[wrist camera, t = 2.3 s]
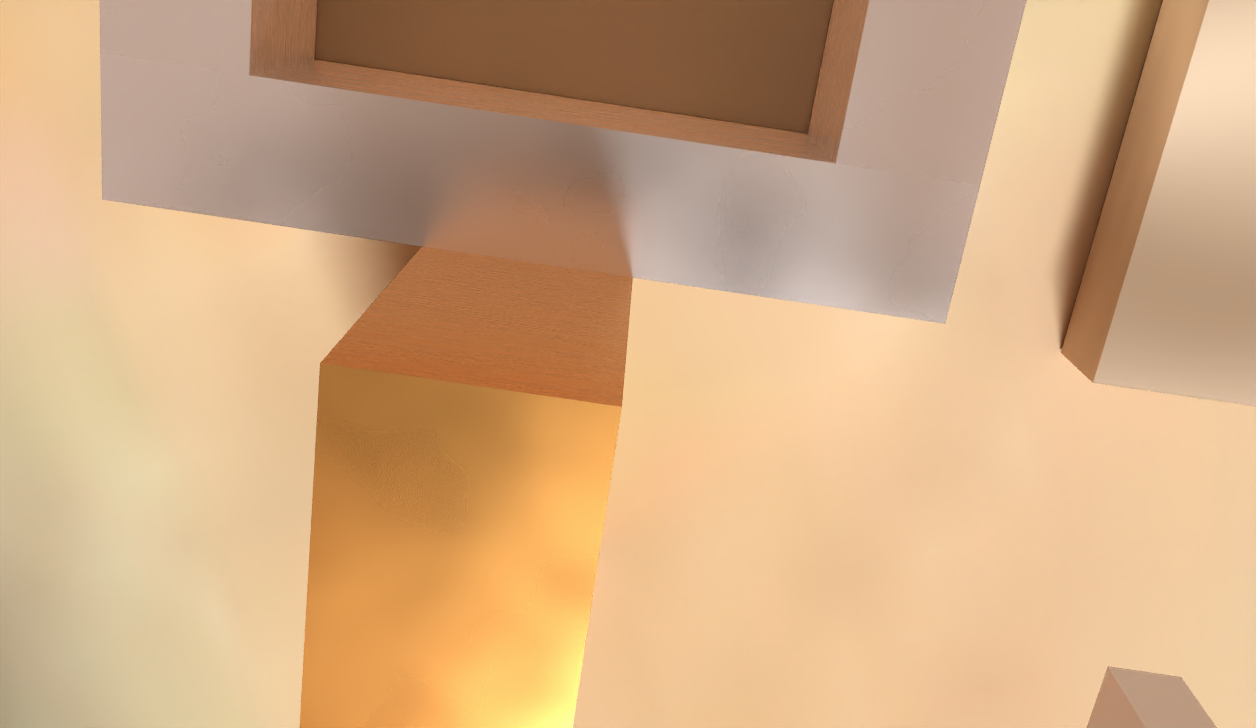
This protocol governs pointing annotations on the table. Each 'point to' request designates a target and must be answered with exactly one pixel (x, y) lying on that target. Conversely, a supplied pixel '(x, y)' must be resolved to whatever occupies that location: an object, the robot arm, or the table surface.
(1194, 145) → the board
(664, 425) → the table surface
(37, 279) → the table surface
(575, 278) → the square frame with handle
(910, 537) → the table surface
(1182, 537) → the table surface
